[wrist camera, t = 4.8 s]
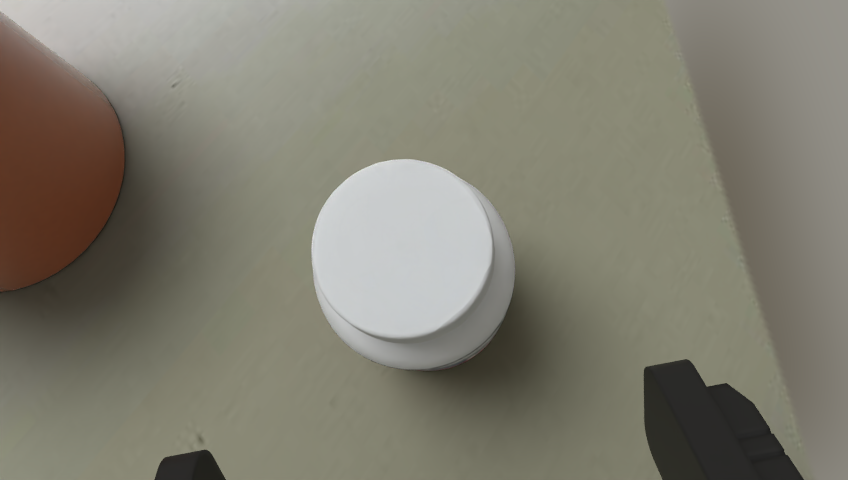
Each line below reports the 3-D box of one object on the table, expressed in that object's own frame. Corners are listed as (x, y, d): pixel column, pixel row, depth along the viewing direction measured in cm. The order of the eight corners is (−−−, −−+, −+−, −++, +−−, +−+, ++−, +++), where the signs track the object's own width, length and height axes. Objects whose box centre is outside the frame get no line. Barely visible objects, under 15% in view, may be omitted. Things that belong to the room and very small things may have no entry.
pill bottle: (340, 240, 24) (259, 159, 15) (483, 202, 23) (486, 99, 15) (373, 389, 22) (306, 395, 14) (524, 351, 22) (553, 333, 14)
